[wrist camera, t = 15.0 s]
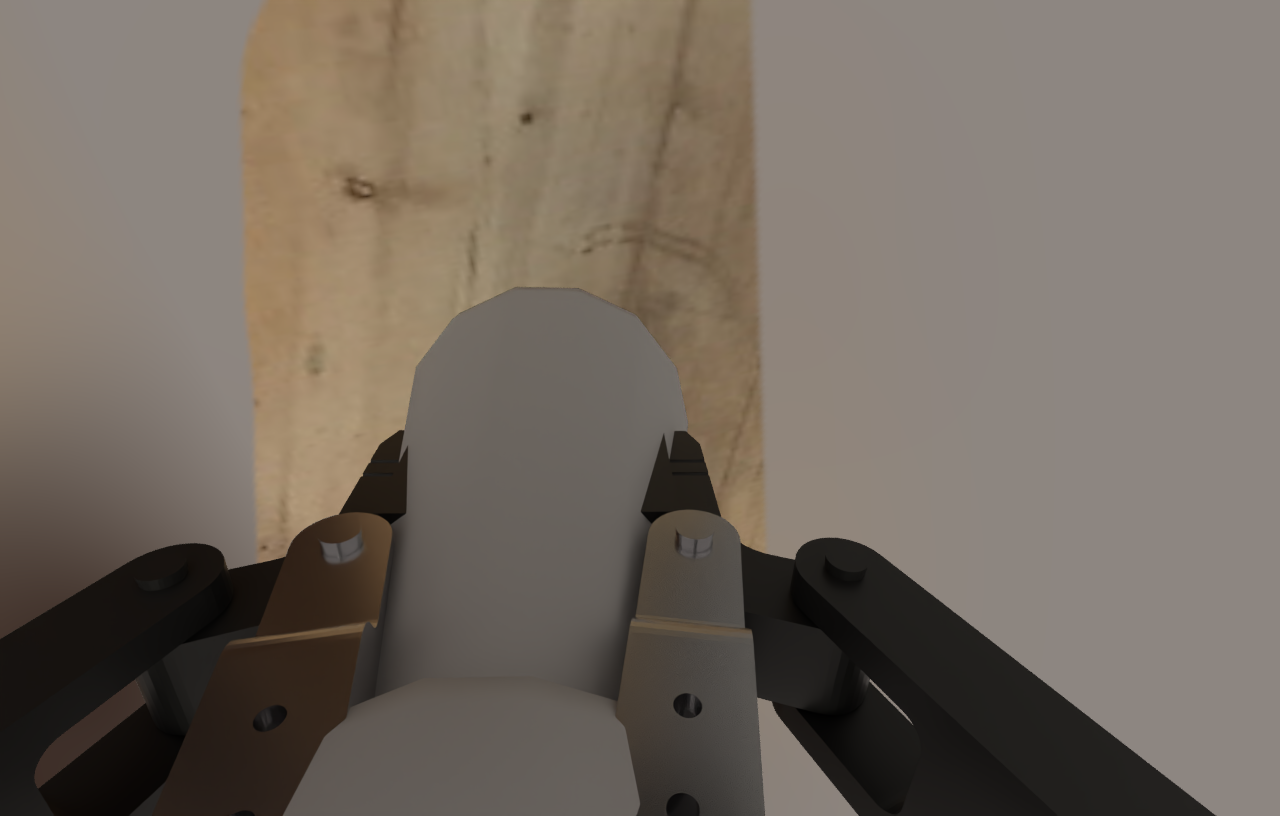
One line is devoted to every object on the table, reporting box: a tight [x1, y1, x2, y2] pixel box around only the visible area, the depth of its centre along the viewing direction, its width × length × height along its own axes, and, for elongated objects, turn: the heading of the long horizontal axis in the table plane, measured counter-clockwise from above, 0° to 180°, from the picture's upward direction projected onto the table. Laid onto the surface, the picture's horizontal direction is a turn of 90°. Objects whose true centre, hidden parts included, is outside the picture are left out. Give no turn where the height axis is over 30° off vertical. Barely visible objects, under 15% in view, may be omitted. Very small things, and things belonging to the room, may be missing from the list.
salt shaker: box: [283, 287, 688, 816], centre depth 10 cm, size 6×6×13 cm
